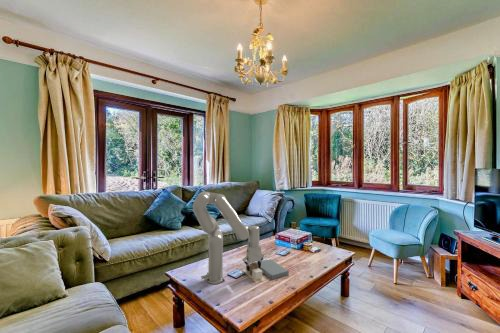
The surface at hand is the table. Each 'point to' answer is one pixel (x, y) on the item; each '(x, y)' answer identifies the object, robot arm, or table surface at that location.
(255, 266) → the pallet
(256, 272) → the crate
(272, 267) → the dock
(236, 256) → the table surface
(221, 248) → the robot arm
